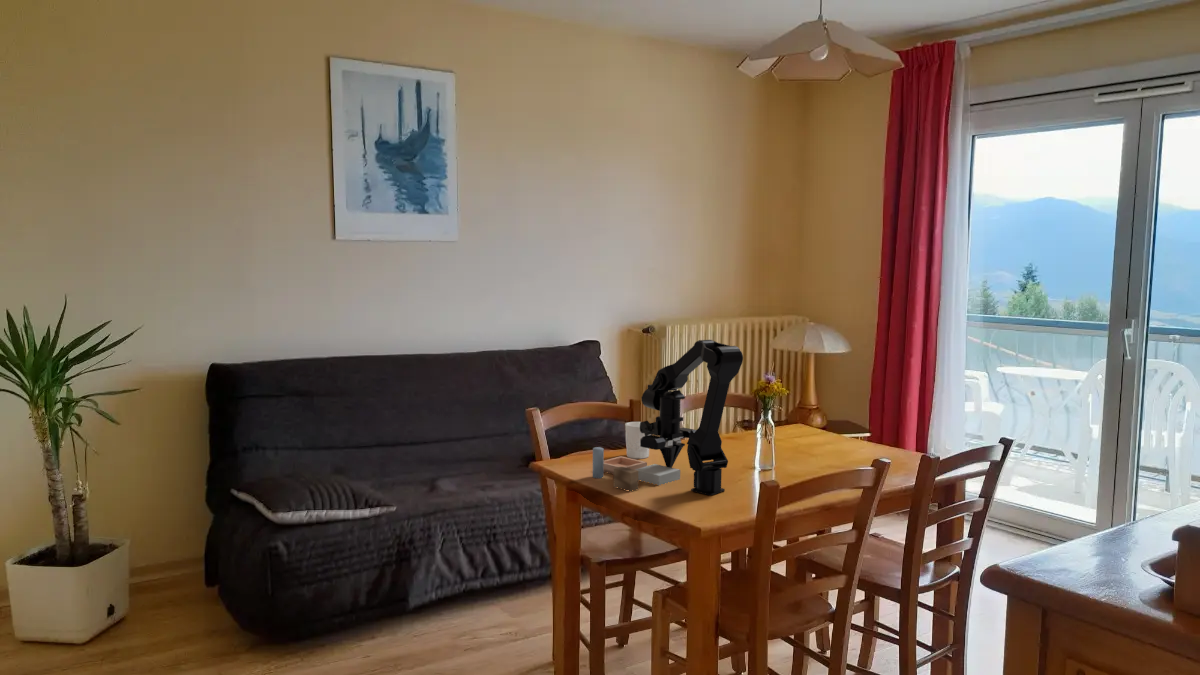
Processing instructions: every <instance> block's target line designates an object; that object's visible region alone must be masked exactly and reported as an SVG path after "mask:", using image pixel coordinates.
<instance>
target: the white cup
mask: <svg viewBox="0 0 1200 675" xmlns="http://www.w3.org/2000/svg"><path fill="white" fill-rule="evenodd" d="M640 422H641V421H630V422H625V423H624V426H625V427H624V428H625V445H626V456H627V458H631V459H635V460H639V459H647V458H649V457H650V449H649V448H645V447H640V439H641V438H642V437H644V436H645V434H644V433H641V431H640ZM650 435H651V434H650Z"/></svg>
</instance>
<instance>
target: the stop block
mask: <svg viewBox="0 0 1200 675" xmlns="http://www.w3.org/2000/svg"><path fill="white" fill-rule="evenodd" d="M615 487H618V488H617V489H619V488H622V489H625V490H624V491H626V490H629V491H628V492H630V491H631V492H633V491H632V490H635V491H637V490H636V489H638V490H639V480H638V470H633V469H629V468H625V467H618V468H614V474H613V488H615ZM622 489H621V490H622Z"/></svg>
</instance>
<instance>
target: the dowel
mask: <svg viewBox="0 0 1200 675" xmlns="http://www.w3.org/2000/svg"><path fill="white" fill-rule="evenodd" d="M604 451H605V449H604V448H603V447H601V446H598V447H597V446H596V447H592V478H593V479H603V478H604V472H603V471H604V460H605V459H604V458H605V456H604V455H605V452H604ZM602 477H603V478H602Z"/></svg>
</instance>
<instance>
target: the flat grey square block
mask: <svg viewBox="0 0 1200 675" xmlns="http://www.w3.org/2000/svg"><path fill="white" fill-rule="evenodd" d="M635 470H638V481H639V480H641V481H640V482H643V481H645V482H644V483H647V482H649V483H648V484H651V483H653V484H652V485H655V484H657V485H656V486H659V485H660V486H662V485H661V484H663V485H666V484H668V482H669V483H672V481H673V482H675V480H676V481H678V480H681V469H679V468H674V467H672V468H671V467H666V465H661V464H658V463H654V464H650V465H647V466H646V467H642V468H638V469H635ZM665 483H666V484H665Z"/></svg>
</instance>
